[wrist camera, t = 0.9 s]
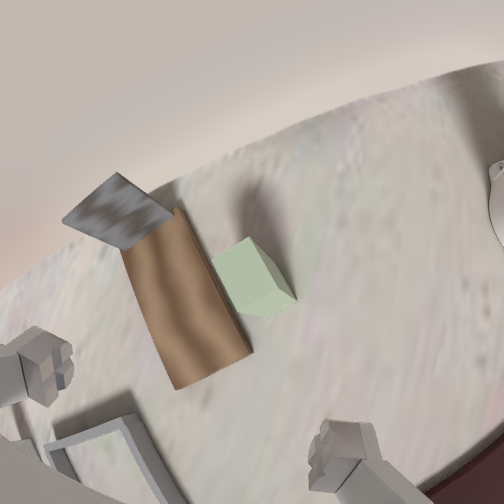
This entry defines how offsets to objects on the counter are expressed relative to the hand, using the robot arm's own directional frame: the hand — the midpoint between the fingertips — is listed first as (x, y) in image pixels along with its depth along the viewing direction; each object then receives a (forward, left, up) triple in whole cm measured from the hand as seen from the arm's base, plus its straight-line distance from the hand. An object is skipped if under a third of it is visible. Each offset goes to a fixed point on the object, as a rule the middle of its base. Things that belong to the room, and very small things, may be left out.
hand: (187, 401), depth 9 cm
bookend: (+12, -16, -33) cm, 38 cm away
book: (-13, +32, -33) cm, 48 cm away
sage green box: (0, -10, -33) cm, 34 cm away
